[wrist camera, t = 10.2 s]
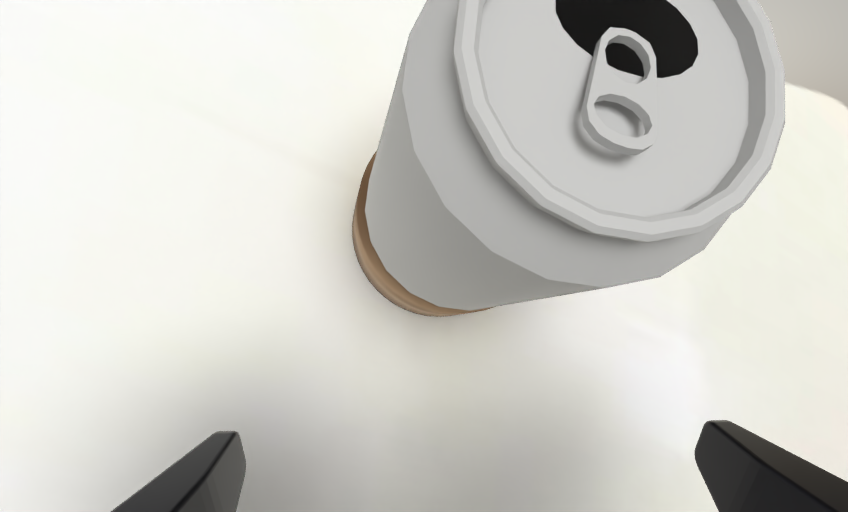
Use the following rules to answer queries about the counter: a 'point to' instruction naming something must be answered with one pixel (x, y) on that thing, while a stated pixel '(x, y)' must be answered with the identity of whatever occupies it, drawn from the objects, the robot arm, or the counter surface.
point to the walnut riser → (376, 268)
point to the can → (569, 143)
